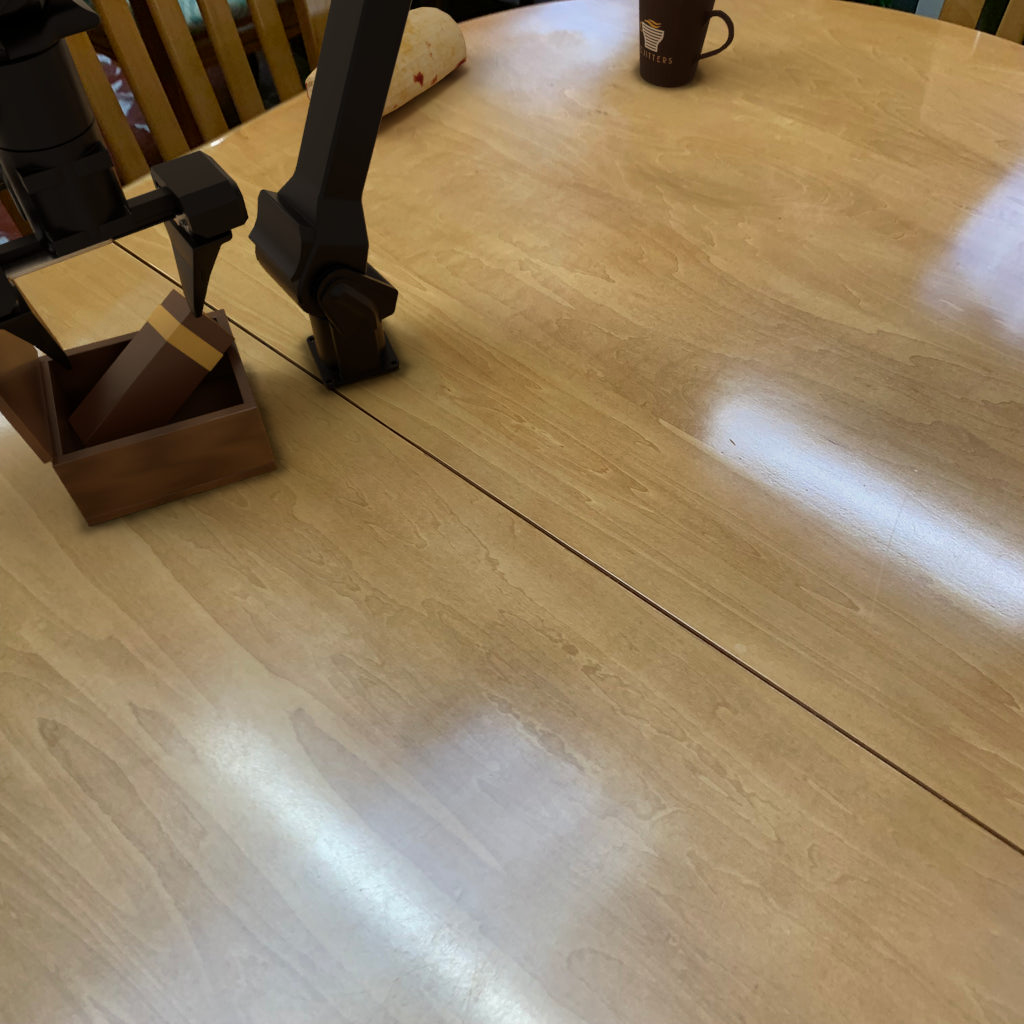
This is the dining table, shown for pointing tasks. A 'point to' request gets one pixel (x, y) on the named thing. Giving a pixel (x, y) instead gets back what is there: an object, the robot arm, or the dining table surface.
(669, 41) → the coffee mug
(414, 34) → the food model
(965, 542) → the dining table surface
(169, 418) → the chocolate box
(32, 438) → the chest lid
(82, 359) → the chest
